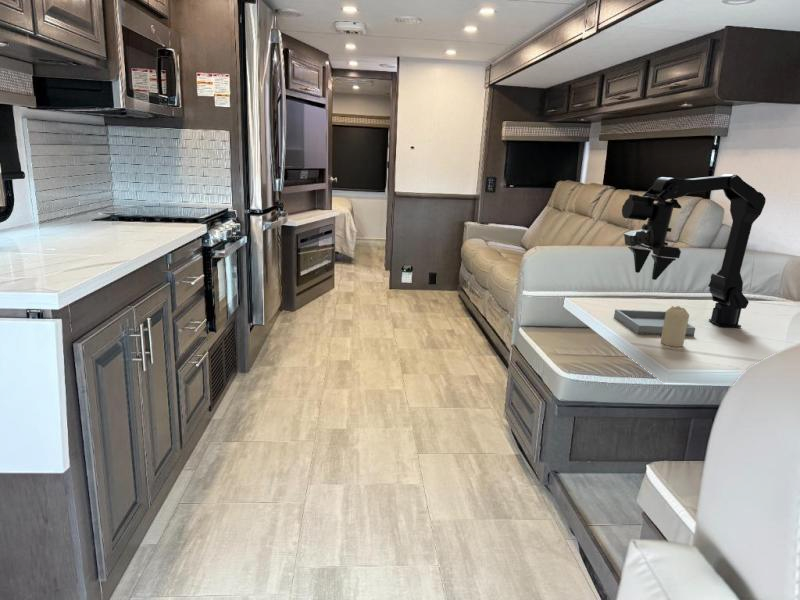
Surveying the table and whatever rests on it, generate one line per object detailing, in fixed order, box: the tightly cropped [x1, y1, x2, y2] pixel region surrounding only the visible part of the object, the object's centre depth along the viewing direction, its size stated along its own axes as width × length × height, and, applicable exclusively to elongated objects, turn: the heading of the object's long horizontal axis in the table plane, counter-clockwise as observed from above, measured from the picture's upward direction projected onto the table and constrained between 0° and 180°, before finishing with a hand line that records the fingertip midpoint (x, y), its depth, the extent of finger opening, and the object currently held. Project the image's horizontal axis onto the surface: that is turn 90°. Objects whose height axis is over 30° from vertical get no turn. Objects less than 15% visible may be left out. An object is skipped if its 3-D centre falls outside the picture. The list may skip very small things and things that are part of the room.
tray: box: [613, 309, 696, 337], centre depth 160 cm, size 16×16×2 cm
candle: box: [660, 305, 690, 348], centre depth 145 cm, size 6×6×10 cm
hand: (645, 275), depth 160 cm, fingers open, 9 cm apart
